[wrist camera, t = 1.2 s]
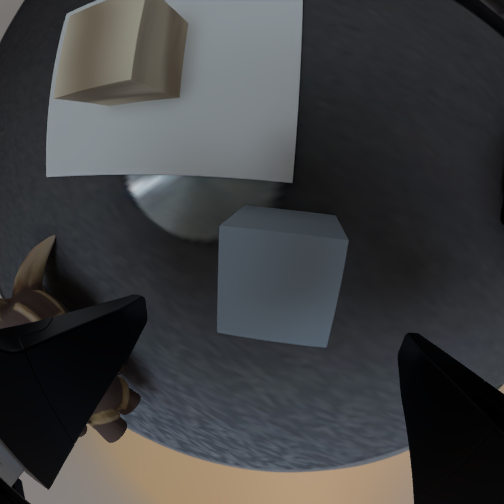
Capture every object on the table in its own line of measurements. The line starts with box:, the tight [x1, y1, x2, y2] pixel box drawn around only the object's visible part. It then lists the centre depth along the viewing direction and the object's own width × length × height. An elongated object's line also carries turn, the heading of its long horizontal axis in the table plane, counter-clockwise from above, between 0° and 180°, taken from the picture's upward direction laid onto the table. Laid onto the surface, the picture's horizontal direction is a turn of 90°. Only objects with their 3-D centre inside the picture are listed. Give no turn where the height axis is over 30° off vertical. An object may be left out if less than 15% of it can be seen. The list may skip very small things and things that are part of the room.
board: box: [46, 0, 303, 183], centre depth 14 cm, size 18×14×1 cm
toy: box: [0, 235, 141, 443], centre depth 17 cm, size 11×8×15 cm
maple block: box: [54, 0, 188, 106], centre depth 11 cm, size 5×5×5 cm
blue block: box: [217, 205, 349, 348], centre depth 14 cm, size 5×5×5 cm
